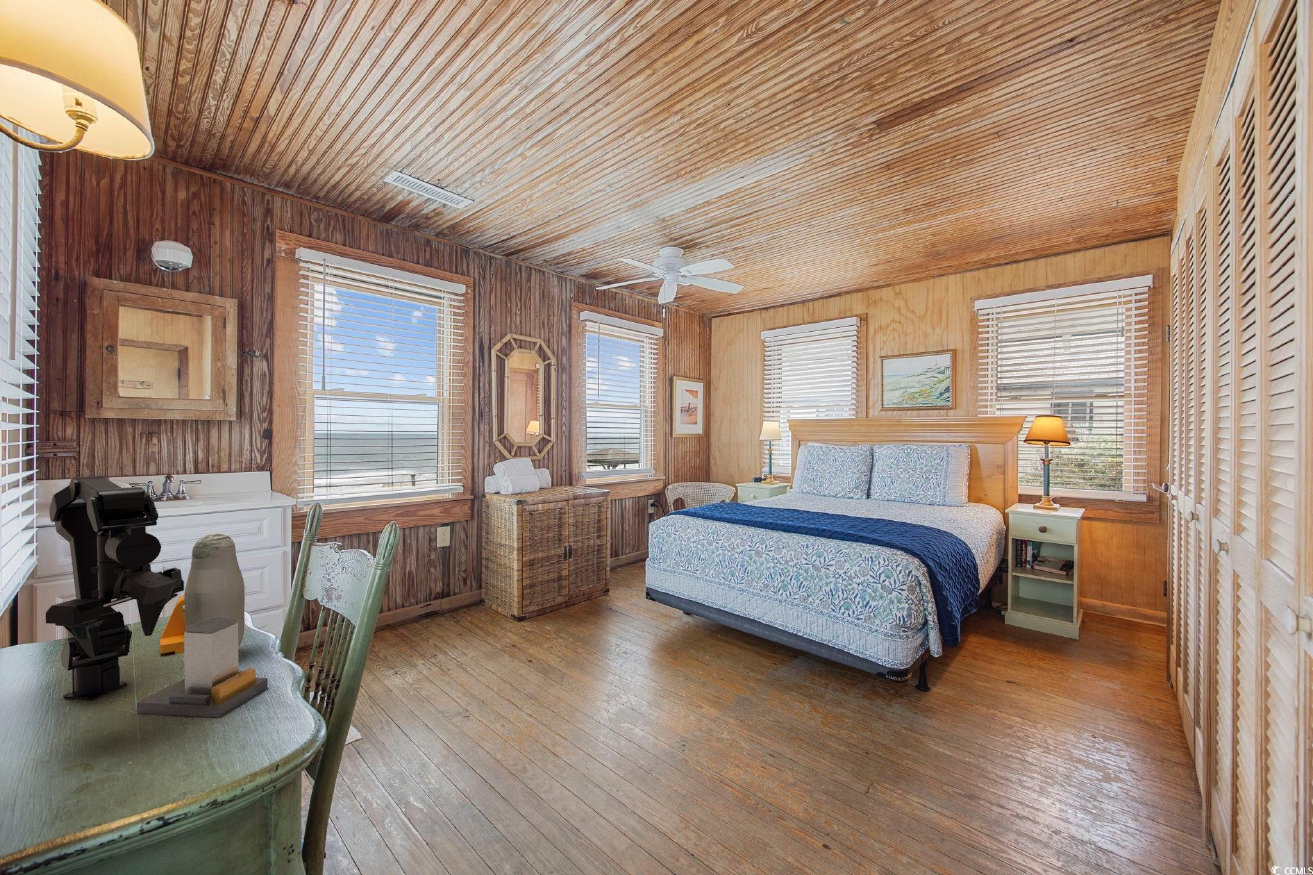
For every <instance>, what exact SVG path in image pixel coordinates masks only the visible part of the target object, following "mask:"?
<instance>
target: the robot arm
mask: <svg viewBox="0 0 1313 875" xmlns="http://www.w3.org/2000/svg"><path fill="white" fill-rule="evenodd" d="M48 514H49V519H50V520H49V521H50V522H51V523H54V527H55V532H56V533H57V534H58V535H60V536H61V537H62V538H63V539H64V540H65V541H67V542H68V543H69V548H70V557H71V559H70V560H71V565H72V566H71V567H72V576H73V583H74V592H75V598H74V599H73V598H72V599H70V600H67V601H64V602H63V601H62V602H60V603H56V604H52V605H50V606H49V608H48V609H47V610H46V612H45V624H50V625H51V624H54V625H55V626H56V627H63V628H64V629H65V630H67V636H68V637H67V638H65V640H64V642H63V646H62V649H61V653H60V661H61V666H62V667H63V668H64V669H65V670H66V671H67V672H69V671H71V678H72V679H71V686H72V691H71V692H68V693H66V694H64V695H63V696H62V699H65V700H67V699H68V700H70V699H71V700H85V701H86V700H87V701H93V700H96V699H98V698H100V697H103V696H105V695H107V694H109V693H111V692H114V691H116V690H118V689H120V688H123V687H124V686H127V685H128V681H122V680H121V669H120V668H121V667H120V665H119V659H120V658H122V657H127V656H128V655H129V653H130V648H131V647H130V646H131V640H132V637H133V631H132V630H130V629H129V626H128V625H126V624H125V621H124V620H125V619H124V614H123V613H122V611H119V610H118V611H117V610H116V609H115V608H113V607H114V606H117V605H120V604H123V603H126V602H129V601H133V600H136V605H137V610H138V615H139V620H140V625H141V628H142V632H143V635H144V636H146V637H151V636H152V635H153V633H154V632H155V628H156V625H157V623H158V621H159V619H160V616H161V615H162V614H161V613H162V612H163V609H164V608H165V606H166V604H167V603H169V602H170V601H171V600H173V599H174V598H177V597H178V595H179V594H178V593H180V592H185V581H184V580H183V577H182V571H181V570H182V569H179V568H177V567H171V568H167V569H165V570H164V571H157V572H155V571H152V569H151V568H152V567H151V563H152V562H153V561H155V560H156V559H157V558H158V557H159V555H160V553H161V550H162V543H161V542H160V540H159V539H158V538H157V536H155V535H153V534H151V533H148V532H147V527H154V526H157V525H158V520H159V513H158V510H157V507H156V505H155V501H154V499H153V498H152V497H151V494H150V493H149V492H146V491H145V489H144V488H143V487H141V486H134V487H132V486H131V487H121V486H119V485H118V484H116V483H115V482H112V481H111V480H110V477H109V476H104V475H93V476H79V477H78V476H77V477H75V478H71V479H70V482H69V484H68V485H67V486H66V487H64V488H63V489H61V490H59V491H58V492H56V493H54V494H53V495H52V498H51V502H50V504H49V513H48Z"/></svg>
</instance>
